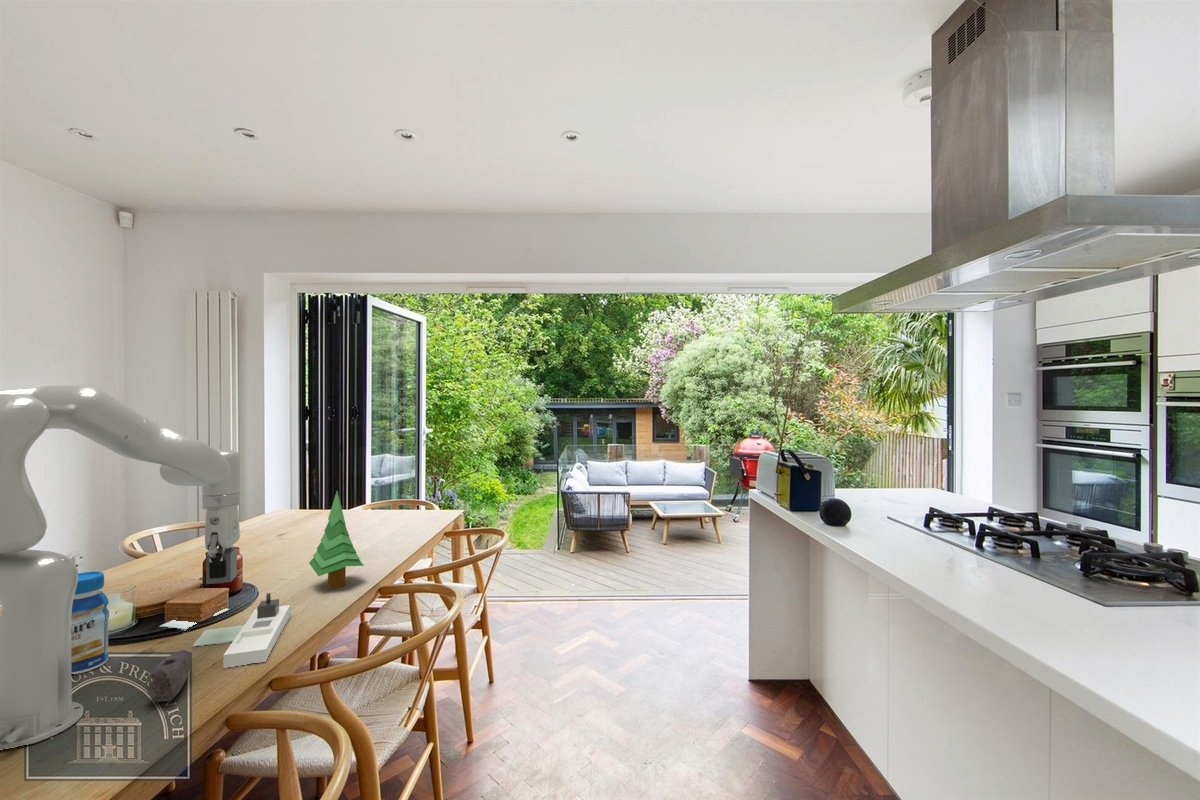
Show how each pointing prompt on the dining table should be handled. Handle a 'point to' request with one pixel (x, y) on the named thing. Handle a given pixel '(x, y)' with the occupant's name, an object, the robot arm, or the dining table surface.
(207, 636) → the mat
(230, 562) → the charger
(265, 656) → the power strip
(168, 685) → the perforated stone tool
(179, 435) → the robot arm
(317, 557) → the decorative tree
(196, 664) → the dining table surface
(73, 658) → the supplement bottle
